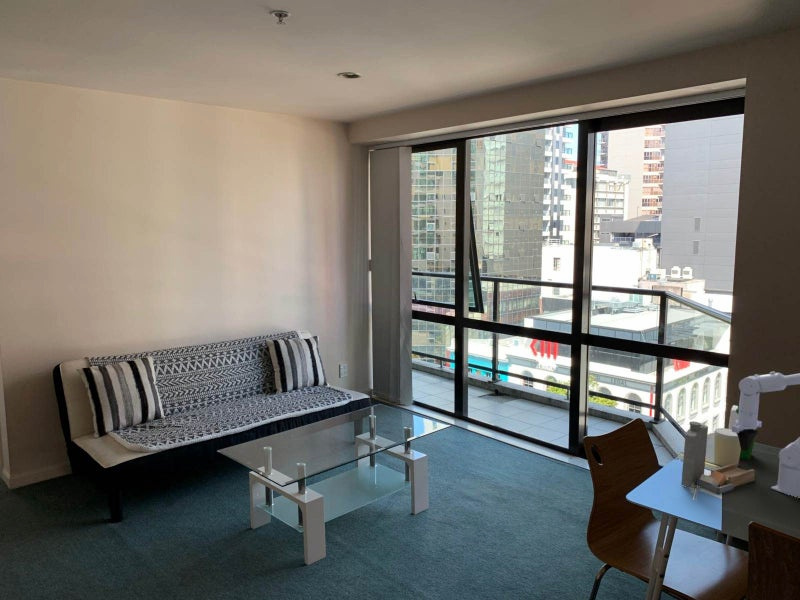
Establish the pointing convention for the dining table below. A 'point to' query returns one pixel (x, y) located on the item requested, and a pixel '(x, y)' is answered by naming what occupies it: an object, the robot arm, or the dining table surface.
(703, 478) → the tile
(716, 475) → the tile
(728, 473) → the board
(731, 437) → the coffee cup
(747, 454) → the milk carton
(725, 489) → the tray
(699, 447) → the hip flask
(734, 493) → the dining table surface
